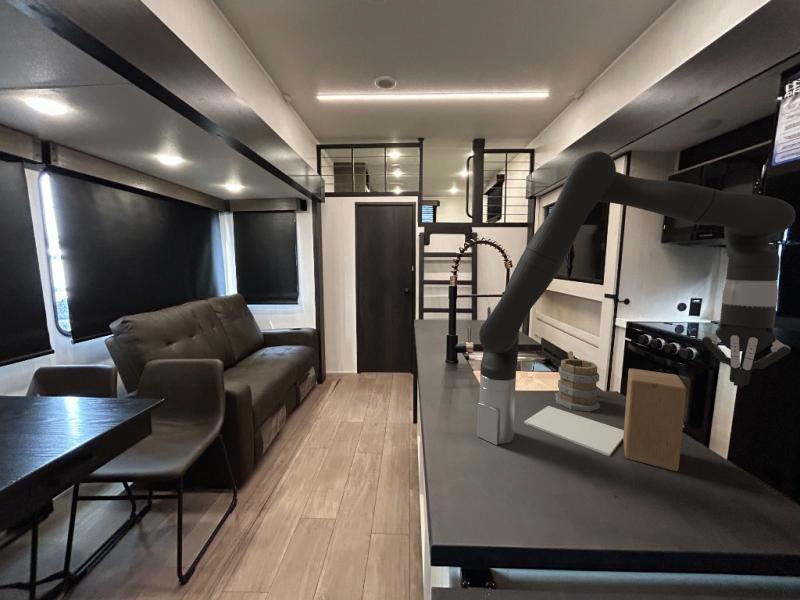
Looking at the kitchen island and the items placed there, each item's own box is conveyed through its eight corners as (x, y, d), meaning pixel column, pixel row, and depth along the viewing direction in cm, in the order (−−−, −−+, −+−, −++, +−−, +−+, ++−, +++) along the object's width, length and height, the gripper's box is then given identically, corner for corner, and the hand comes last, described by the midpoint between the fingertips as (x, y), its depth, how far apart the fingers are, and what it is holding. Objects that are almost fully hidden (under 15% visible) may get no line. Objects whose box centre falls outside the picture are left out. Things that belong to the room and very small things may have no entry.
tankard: (602, 413, 101) (606, 367, 100) (558, 408, 105) (560, 363, 104) (588, 390, 120) (590, 351, 118) (551, 386, 124) (553, 348, 123)
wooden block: (678, 472, 73) (687, 387, 70) (624, 458, 78) (631, 379, 76) (671, 451, 81) (678, 374, 79) (622, 439, 86) (628, 367, 84)
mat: (609, 456, 79) (609, 454, 79) (524, 423, 95) (524, 421, 95) (627, 433, 89) (627, 431, 89) (548, 407, 106) (548, 405, 106)
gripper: (701, 301, 67) (693, 381, 69) (801, 307, 58) (789, 400, 59) (705, 298, 72) (698, 373, 74) (798, 304, 63) (787, 389, 64)
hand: (738, 385), depth 67 cm, fingers closed
